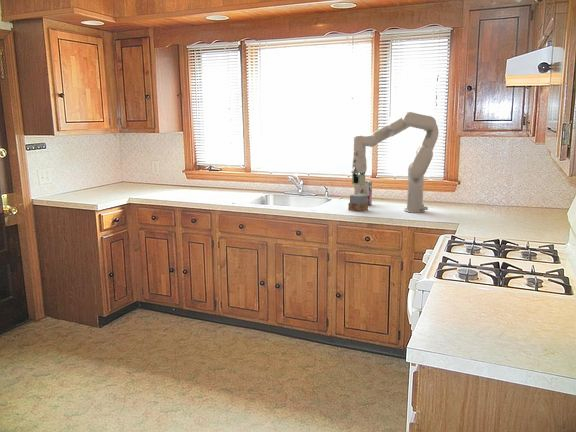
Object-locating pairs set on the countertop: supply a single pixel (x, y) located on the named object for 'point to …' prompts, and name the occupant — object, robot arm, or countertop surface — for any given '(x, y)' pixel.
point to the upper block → (358, 199)
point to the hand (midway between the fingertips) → (358, 182)
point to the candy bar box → (365, 191)
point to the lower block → (358, 207)
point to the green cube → (359, 179)
